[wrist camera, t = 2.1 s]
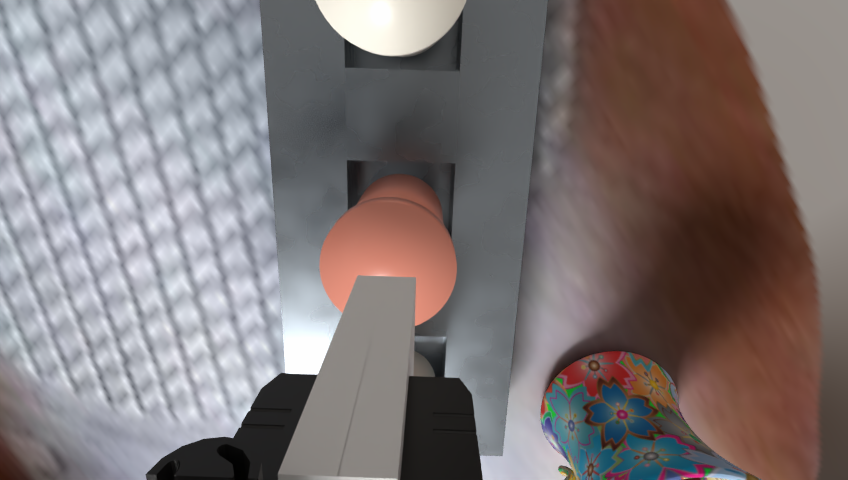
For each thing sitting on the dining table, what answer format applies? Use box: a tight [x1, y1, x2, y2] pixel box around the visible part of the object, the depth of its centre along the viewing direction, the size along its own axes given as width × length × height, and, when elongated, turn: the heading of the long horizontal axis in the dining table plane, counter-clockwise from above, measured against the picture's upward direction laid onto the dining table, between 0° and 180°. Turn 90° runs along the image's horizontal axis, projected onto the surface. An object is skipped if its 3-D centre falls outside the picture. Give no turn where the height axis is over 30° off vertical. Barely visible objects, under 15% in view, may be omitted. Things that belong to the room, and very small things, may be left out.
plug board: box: [260, 0, 548, 456], centre depth 25 cm, size 12×28×4 cm, turn 178°
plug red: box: [319, 174, 457, 326], centre depth 19 cm, size 5×5×7 cm
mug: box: [541, 351, 761, 480], centre depth 26 cm, size 12×9×11 cm
